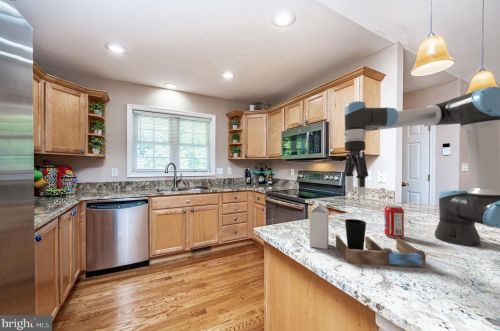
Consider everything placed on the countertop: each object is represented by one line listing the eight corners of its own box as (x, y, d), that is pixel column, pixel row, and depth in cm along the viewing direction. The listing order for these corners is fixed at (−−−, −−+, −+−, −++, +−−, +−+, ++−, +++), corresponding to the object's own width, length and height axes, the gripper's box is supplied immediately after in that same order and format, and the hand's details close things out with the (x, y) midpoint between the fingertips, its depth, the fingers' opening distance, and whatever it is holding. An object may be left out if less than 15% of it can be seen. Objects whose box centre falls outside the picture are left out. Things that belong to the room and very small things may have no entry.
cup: (369, 255, 80) (368, 224, 80) (347, 254, 82) (347, 223, 82) (362, 247, 88) (362, 219, 88) (343, 246, 89) (343, 218, 89)
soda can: (397, 240, 96) (397, 208, 96) (380, 235, 103) (380, 205, 103) (407, 238, 99) (407, 206, 99) (390, 233, 107) (390, 203, 107)
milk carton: (328, 244, 92) (328, 201, 92) (327, 249, 86) (327, 203, 86) (312, 241, 95) (311, 200, 95) (309, 247, 89) (309, 202, 89)
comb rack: (399, 249, 86) (398, 235, 86) (426, 268, 70) (426, 252, 70) (335, 245, 90) (335, 232, 90) (347, 263, 73) (347, 248, 73)
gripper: (337, 144, 98) (337, 189, 98) (355, 137, 73) (355, 197, 73) (354, 144, 96) (354, 189, 96) (378, 136, 72) (378, 198, 72)
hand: (354, 193), depth 85 cm, fingers open, 13 cm apart
